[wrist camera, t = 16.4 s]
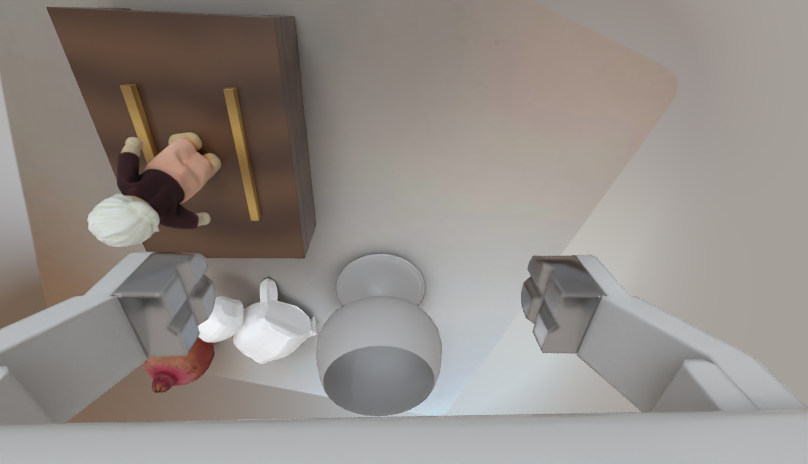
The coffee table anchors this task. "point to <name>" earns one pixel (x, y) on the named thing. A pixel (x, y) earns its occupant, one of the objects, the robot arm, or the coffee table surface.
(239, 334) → the white low-poly sculpture
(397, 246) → the coffee table surface
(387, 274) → the chalice
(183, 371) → the fruit
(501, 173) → the coffee table surface
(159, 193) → the grandmother figurine
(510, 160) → the coffee table surface
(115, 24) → the box with brass rails
